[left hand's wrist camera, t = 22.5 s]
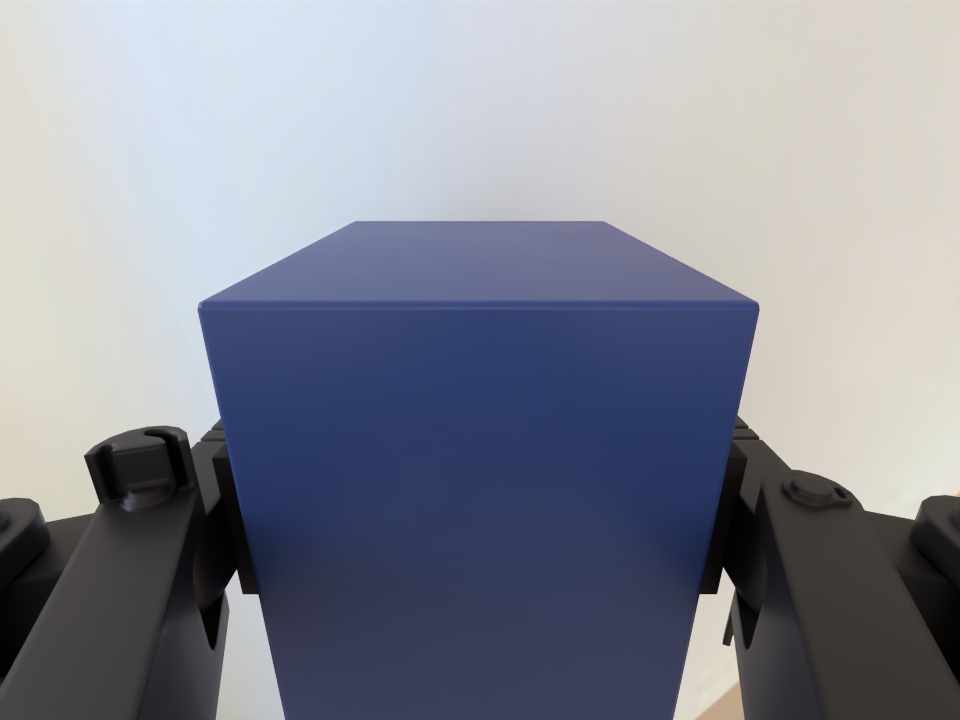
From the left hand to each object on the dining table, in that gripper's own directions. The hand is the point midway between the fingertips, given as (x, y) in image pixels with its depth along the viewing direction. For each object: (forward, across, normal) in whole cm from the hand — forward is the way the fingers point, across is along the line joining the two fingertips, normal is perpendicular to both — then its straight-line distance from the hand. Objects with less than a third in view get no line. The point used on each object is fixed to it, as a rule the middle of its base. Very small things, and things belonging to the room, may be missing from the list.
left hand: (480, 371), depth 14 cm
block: (+1, 0, 0) cm, 1 cm away
